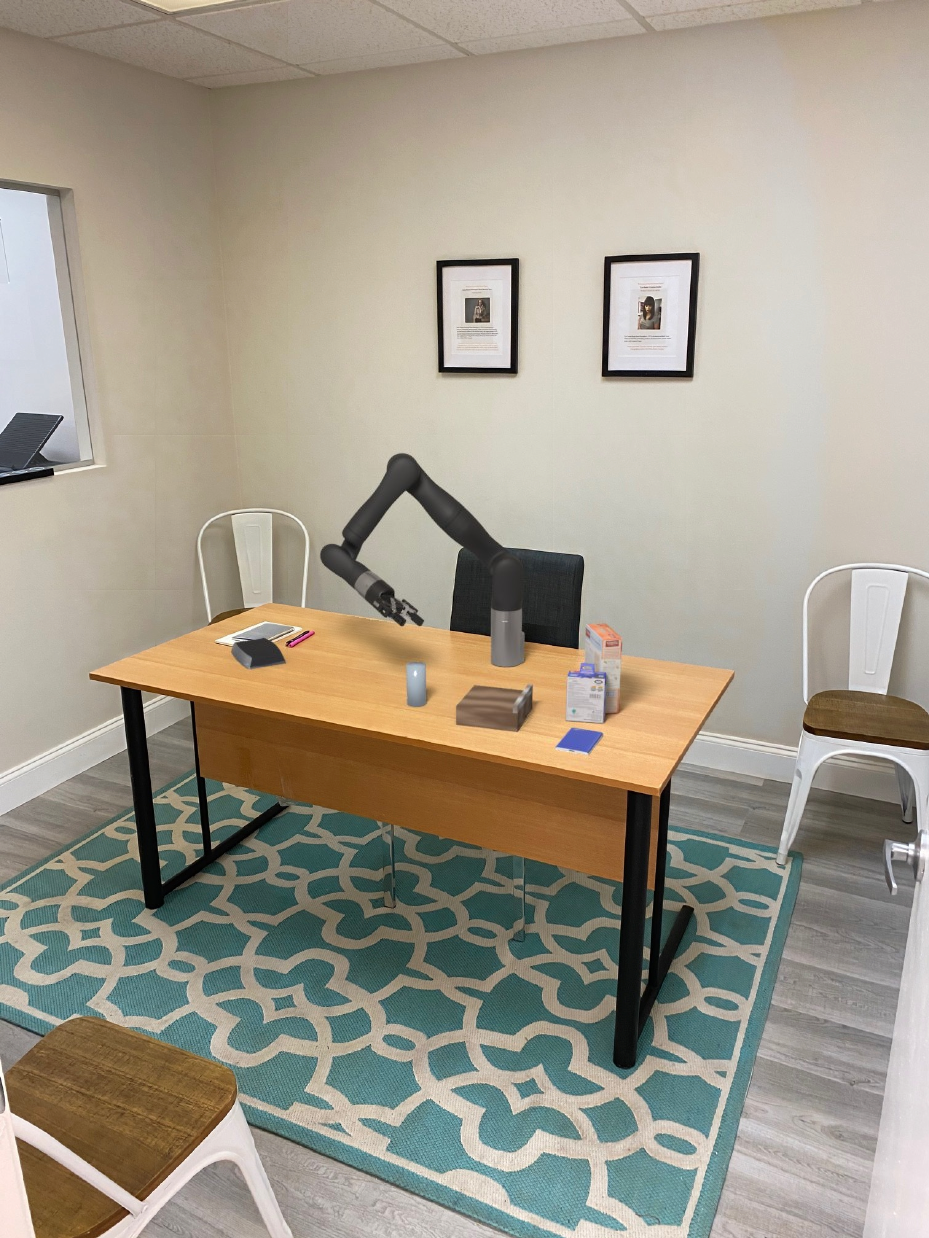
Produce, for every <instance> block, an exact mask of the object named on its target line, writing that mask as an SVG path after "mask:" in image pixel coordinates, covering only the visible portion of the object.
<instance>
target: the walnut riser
mask: <svg viewBox="0 0 929 1238" xmlns="http://www.w3.org/2000/svg"><path fill="white" fill-rule="evenodd" d="M533 686H534V684H533V683H527V685H526V686H525V687H524V689H523V690H522V689H514V688H507V687H506V688H505V687H497V686H489V685H488V686H486V685H476V684H474V685H473V686H472V687H471V688H470V690H469V691H467V693H466V694H465V695H464V696H463V697H462V699H461V700H460V701H459V702H458V703H457V704H456V706H455V725H457V726H463V727H465V726H466V727H472V728H473V727H474V728H479V729H480V728H483V729H491V730H499V731H507V732H516V733H518V732H519V730H520V728H521V727H522V726H523V724H524V722H525V721H526V719H527V718H528V717H529V714H531V712H532V710H533V701H534V700H533V696H534V695H533V694H534V691H533V690H534V689H533V688H534V687H533Z"/></svg>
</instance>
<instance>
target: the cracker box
mask: <svg viewBox="0 0 929 1238" xmlns="http://www.w3.org/2000/svg"><path fill="white" fill-rule="evenodd" d="M584 641H585V642H584V643H585V645H584V663H588V664H595V672H606V706H605V715H609V714H610V715H611V714H619V708H620V707H619V705H620V703H619V702H620V692H621V691H620V690H621V689H620V687H621V671H622V670H621V669H622V652H623V650H622V649H623V637H622V636H620V635H619V634H618V632H616V631H615V630H614V629H613V628H612V627H611V626H609V625H608V624H607V623H604V622H598V623H587V624H585V640H584ZM583 669H590V670H591V669H592V667H589V666H584V667H583Z"/></svg>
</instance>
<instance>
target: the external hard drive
mask: <svg viewBox="0 0 929 1238" xmlns="http://www.w3.org/2000/svg"><path fill="white" fill-rule="evenodd" d="M230 653H231V654H232V656H233V657H234V659H235V660H236V661H237V662H238V663H239V664H240V665H241V666H242V667H243V668H246V669H247V670H254V669H261V668H267V667H273V666H279V665H284V664H287V661H286V659H285V657H284V655H283V652H282V651H281V649H280V647H278V645H277V644H275V643H274V642H273V641H271V640H270V639H267V638H265V637H262V638H261V637H260V638H256V639H248V640H242V641H235V642H234V643H233V644H232V647H231V651H230Z"/></svg>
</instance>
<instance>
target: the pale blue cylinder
mask: <svg viewBox="0 0 929 1238" xmlns="http://www.w3.org/2000/svg"><path fill="white" fill-rule="evenodd" d="M405 667H406V668H405V671H406V672H405V673H406V705H407V706H409V707H411V708H412V707H413V708H420V707H425V706H427V666H426V663H425V662H423V661H411V662H410V661H409V662H408V663H406V664H405Z"/></svg>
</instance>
